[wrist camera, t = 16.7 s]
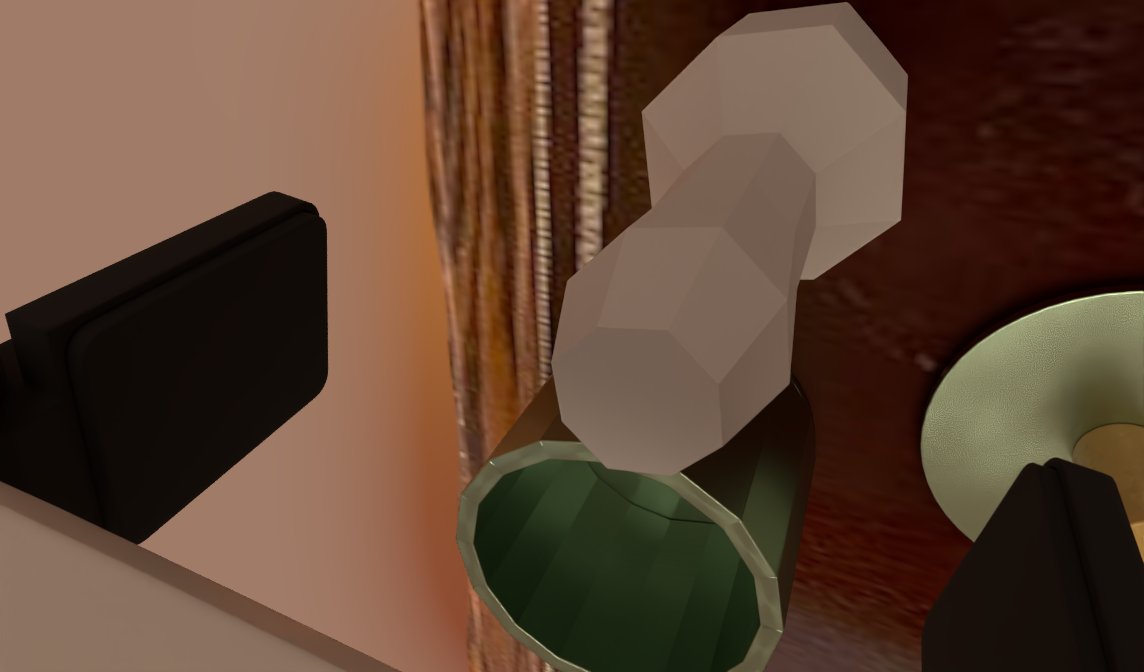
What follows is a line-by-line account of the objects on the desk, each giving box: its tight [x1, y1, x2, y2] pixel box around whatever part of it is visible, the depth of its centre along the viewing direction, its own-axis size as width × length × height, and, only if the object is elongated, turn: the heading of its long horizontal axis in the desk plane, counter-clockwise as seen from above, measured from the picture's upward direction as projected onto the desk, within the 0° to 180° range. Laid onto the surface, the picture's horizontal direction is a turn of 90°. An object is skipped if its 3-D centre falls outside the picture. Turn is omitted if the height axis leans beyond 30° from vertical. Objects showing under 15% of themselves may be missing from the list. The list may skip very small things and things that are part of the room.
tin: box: [456, 371, 815, 672], centre depth 33 cm, size 13×13×10 cm
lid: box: [920, 285, 1144, 562], centre depth 27 cm, size 14×14×7 cm
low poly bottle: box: [551, 2, 908, 476], centre depth 19 cm, size 6×6×22 cm
